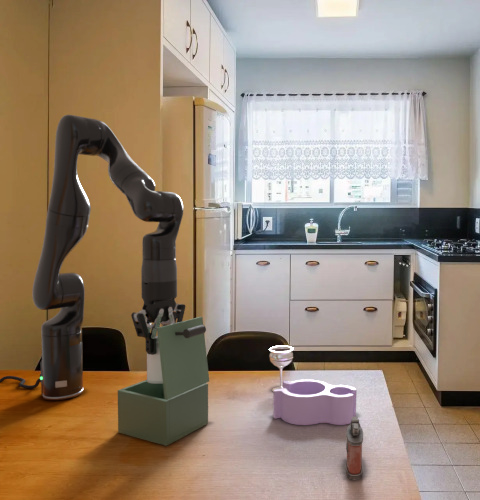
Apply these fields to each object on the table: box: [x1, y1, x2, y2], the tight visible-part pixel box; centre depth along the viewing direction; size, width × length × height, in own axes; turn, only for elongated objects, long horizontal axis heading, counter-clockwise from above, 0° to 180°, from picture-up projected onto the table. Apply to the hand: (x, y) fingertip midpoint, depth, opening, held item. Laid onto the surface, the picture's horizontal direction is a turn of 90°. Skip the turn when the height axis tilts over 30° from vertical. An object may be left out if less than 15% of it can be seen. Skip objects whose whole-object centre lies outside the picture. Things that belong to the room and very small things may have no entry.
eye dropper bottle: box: [146, 334, 163, 384], centre depth 114 cm, size 4×6×12 cm
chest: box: [117, 379, 209, 447], centre depth 114 cm, size 15×13×10 cm
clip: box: [272, 379, 357, 426], centre depth 124 cm, size 20×12×7 cm, turn 80°
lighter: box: [345, 416, 364, 481], centre depth 98 cm, size 8×3×10 cm, turn 5°
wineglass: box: [268, 345, 294, 392], centre depth 141 cm, size 7×7×12 cm
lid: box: [156, 316, 210, 400], centre depth 110 cm, size 16×13×5 cm
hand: (160, 351), depth 114 cm, fingers closed on eye dropper bottle, 4 cm apart
